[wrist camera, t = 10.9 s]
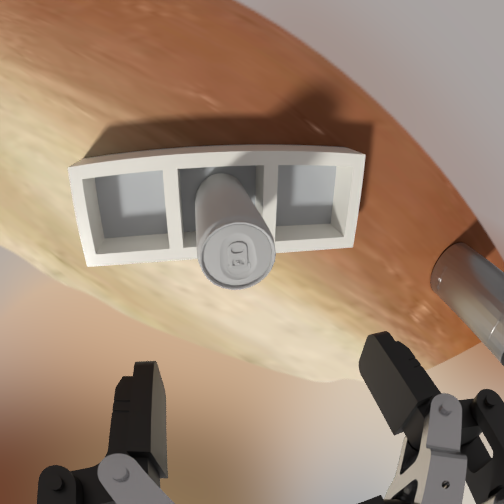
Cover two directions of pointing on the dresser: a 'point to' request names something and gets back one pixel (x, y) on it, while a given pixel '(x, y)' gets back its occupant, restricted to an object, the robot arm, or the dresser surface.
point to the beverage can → (231, 234)
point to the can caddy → (185, 188)
